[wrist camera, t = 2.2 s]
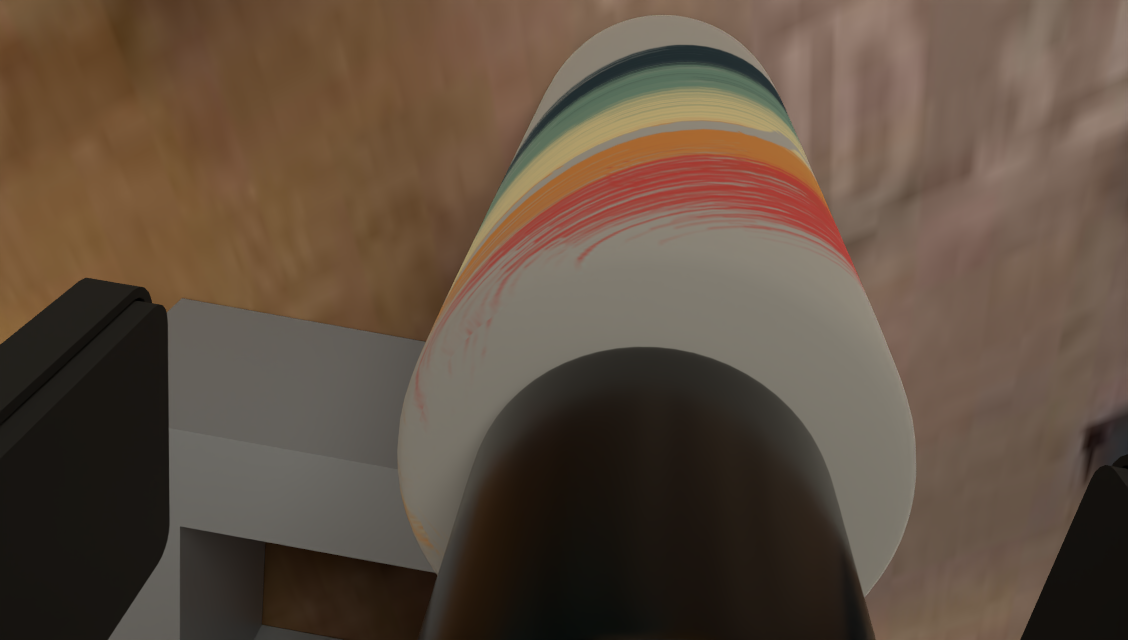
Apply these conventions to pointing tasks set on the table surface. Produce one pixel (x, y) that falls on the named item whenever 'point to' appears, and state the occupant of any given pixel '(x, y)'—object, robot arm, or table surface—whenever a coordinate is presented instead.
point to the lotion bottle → (656, 374)
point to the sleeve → (272, 464)
